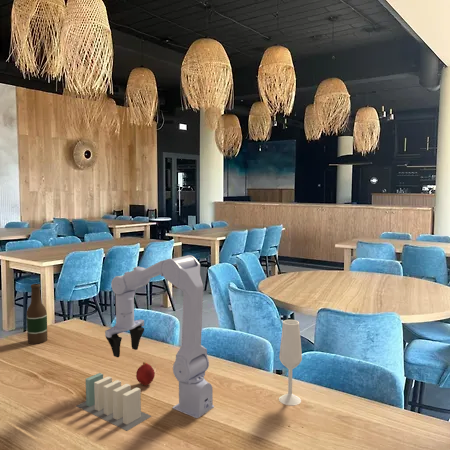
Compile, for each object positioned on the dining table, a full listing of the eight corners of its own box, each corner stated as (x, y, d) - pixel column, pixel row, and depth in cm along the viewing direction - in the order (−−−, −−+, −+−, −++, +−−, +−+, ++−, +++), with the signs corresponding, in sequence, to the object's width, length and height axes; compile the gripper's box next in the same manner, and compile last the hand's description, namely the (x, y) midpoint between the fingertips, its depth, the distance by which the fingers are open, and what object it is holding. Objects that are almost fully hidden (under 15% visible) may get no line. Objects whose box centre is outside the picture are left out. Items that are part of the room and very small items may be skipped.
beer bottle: (51, 340, 180) (49, 283, 178) (34, 345, 173) (32, 287, 171) (40, 336, 184) (38, 281, 182) (23, 342, 177) (21, 285, 175)
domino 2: (112, 403, 126) (111, 377, 125) (98, 411, 122) (97, 383, 121) (108, 402, 127) (108, 376, 126) (94, 409, 123) (94, 382, 122)
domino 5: (140, 416, 119) (140, 388, 118) (127, 424, 115) (126, 396, 114) (137, 414, 120) (136, 387, 119) (123, 422, 116) (122, 394, 115)
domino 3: (121, 408, 124) (121, 381, 123) (107, 415, 120) (107, 387, 119) (117, 406, 125) (117, 379, 124) (103, 413, 121) (103, 386, 120)
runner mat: (151, 417, 119) (151, 416, 119) (126, 432, 112) (126, 430, 112) (101, 395, 132) (101, 393, 132) (75, 407, 125) (75, 405, 125)
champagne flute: (274, 397, 131) (275, 320, 129) (293, 392, 134) (294, 317, 132) (286, 407, 125) (287, 326, 123) (305, 402, 128) (307, 324, 126)
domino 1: (103, 400, 128) (103, 374, 128) (89, 406, 124) (88, 380, 124) (100, 398, 129) (99, 372, 129) (86, 405, 125) (85, 378, 125)
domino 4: (131, 412, 121) (130, 385, 121) (117, 420, 117) (116, 391, 117) (127, 410, 122) (126, 383, 122) (113, 418, 118) (112, 390, 118)
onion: (146, 380, 143) (146, 356, 142) (158, 385, 139) (158, 361, 138) (132, 386, 138) (132, 362, 137) (144, 391, 134) (144, 367, 134)
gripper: (133, 305, 147) (134, 343, 148) (98, 315, 135) (99, 356, 136) (148, 308, 143) (148, 348, 144) (113, 319, 131) (114, 362, 132)
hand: (125, 352), depth 140 cm, fingers open, 7 cm apart
